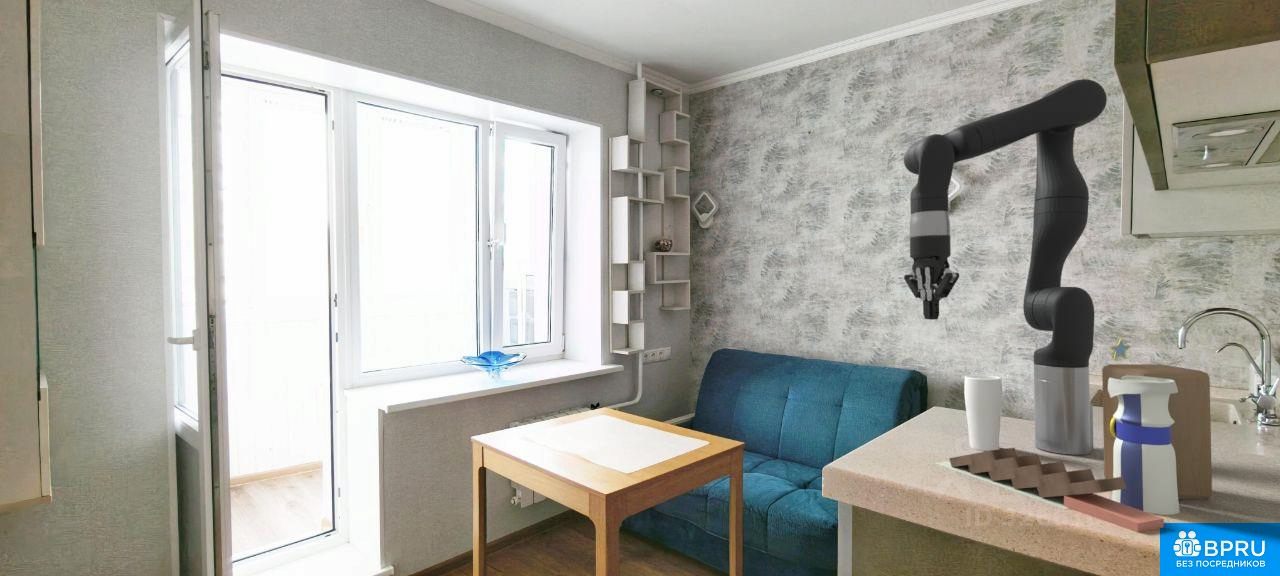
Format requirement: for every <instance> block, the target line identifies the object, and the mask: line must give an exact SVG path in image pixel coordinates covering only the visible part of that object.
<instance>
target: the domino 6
mask: <svg viewBox="0 0 1280 576" xmlns="http://www.w3.org/2000/svg"><path fill="white" fill-rule="evenodd" d="M1064 506H1065V507H1068V508H1070V510H1073V511H1076V512H1078V513H1080V514H1084V515H1087V516H1090V517H1092V518H1095V519H1099V520H1101V521H1104V522H1106V523H1107V522H1108V523H1109V524H1112V525H1115V526H1118V527H1121V528H1124V529H1126V530H1130V531H1132V532H1136V533H1142V532H1146V531H1152V530H1158V529H1162V528H1163V529H1164V526H1165V525H1164V521H1165V518H1163V517H1161V516H1158V515H1156V514H1150V513H1147V512H1144V511H1141V510H1139V509H1136V508H1133V507H1130V506H1127V505H1124V504H1122V503H1119V502H1116V501H1113V500H1112V499H1110V498H1108V497H1104V496H1103V495H1099V494H1097V493H1089V494H1077V495H1065V496H1064Z"/></svg>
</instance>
